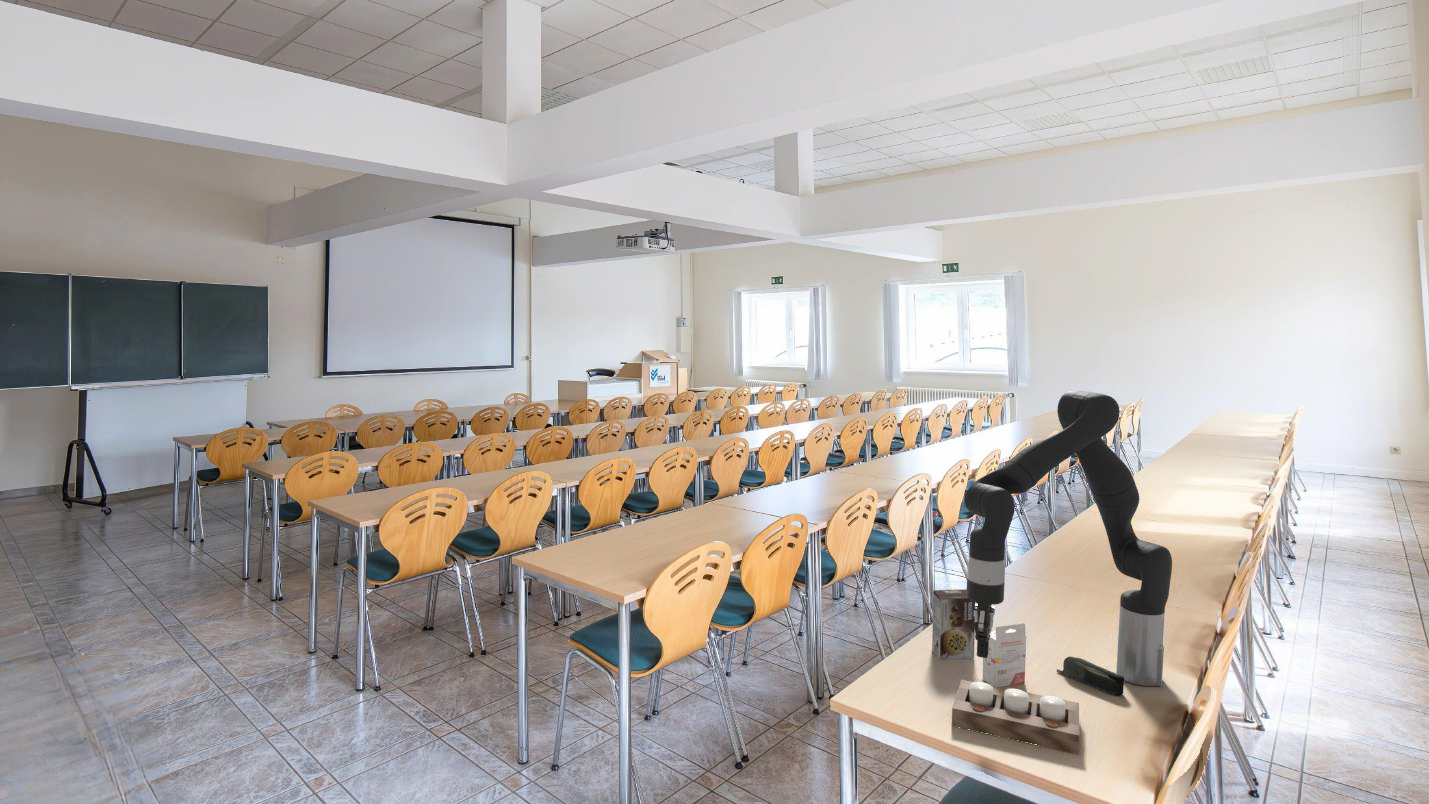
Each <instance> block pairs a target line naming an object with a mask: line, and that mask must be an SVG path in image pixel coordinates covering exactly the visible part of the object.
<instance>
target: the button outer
mask: <svg viewBox="0 0 1429 804" xmlns="http://www.w3.org/2000/svg"><path fill="white" fill-rule="evenodd" d="M972 682H973V683H971V684H970V693H969V703H974V704H979V705H984V706H989V707H993V687H992V685H990V684H989V683H987V682H982V681H972Z"/></svg>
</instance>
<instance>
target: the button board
mask: <svg viewBox="0 0 1429 804" xmlns="http://www.w3.org/2000/svg"><path fill="white" fill-rule="evenodd" d="M973 682H974V681H971V680H966V679H961V680H960V683H959V686H958V688H957V692H956V695H955V697H954V698H955V699H954V701H953V704H952V708H951V709H952V710H951V727H953V726H954V727H955V728H958V727H960V728H959V729H962V728H964V729H963V730H967V729H970V730H969V731H971V730H973V731H972V732H975V731H978V732H977V733H980V732H983V733H982V734H984V733H988V734H987V735H989V734H992V735H991V736H993V735H995V736H994V737H998V736H1000V737H999V738H1002V737H1003V739H1006V738H1009V739H1008V740H1011V739H1014V740H1013V741H1015V740H1019V741H1018V742H1020V741H1023V742H1022V743H1024V742H1028V743H1027V744H1029V743H1032V744H1031V745H1033V744H1037V745H1036V746H1038V745H1039V746H1038V747H1042V746H1043V747H1042V748H1046V749H1047V748H1048V749H1051V750H1056V751H1059V752H1065V753H1069V754H1074V755H1078V756H1079V754H1080V753H1079V751H1080V749H1079V748H1080V702H1076V701H1071V700H1066V699H1062V700H1063V701H1065V703H1066V709H1065V722H1060V721H1055V720H1050V719H1046V718H1041V717H1040V698H1041V697H1043V696H1044V695H1041V694H1036V693H1031V692H1026V691H1025V692H1026V693H1027V694H1028V695H1029V705H1028V715H1027V714H1022V713H1017V712H1012V711H1008V710H1004V691H1005V690H1007V689H1008V688H1005V687H996V686H992V685H991V686H992V687H993V707H989V706H984V705H979V704H974V703H969V693H970V684H971V683H973Z"/></svg>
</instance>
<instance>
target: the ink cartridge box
mask: <svg viewBox="0 0 1429 804" xmlns="http://www.w3.org/2000/svg"><path fill="white" fill-rule="evenodd" d="M1026 633H1027V632H1026V624H1025V623H1023V622H1022V623H1017V624H1016V623H1015V624H1008V625H1001V626H996V627H995V630H993V631H992V630H991V633H990V635H991V636H990V640H989V649H988V657H987V658H982V680H983V681H984V682H985V683H987V684H989V685H991V686H996V687H1001V688H1004V687H1009V686H1014V685H1022V684H1024V683H1025V682H1026V659H1027V658H1026V653H1027V652H1026V651H1027V635H1026Z"/></svg>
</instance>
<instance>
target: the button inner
mask: <svg viewBox="0 0 1429 804" xmlns="http://www.w3.org/2000/svg"><path fill="white" fill-rule="evenodd" d="M1042 696H1043V697H1041V698H1040V717H1041V718H1046V719H1050V720H1055V721H1060V722H1065V709H1066V703H1065V701H1063V700H1064V699H1061V698H1060V697H1057V696H1053V695H1042Z"/></svg>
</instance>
